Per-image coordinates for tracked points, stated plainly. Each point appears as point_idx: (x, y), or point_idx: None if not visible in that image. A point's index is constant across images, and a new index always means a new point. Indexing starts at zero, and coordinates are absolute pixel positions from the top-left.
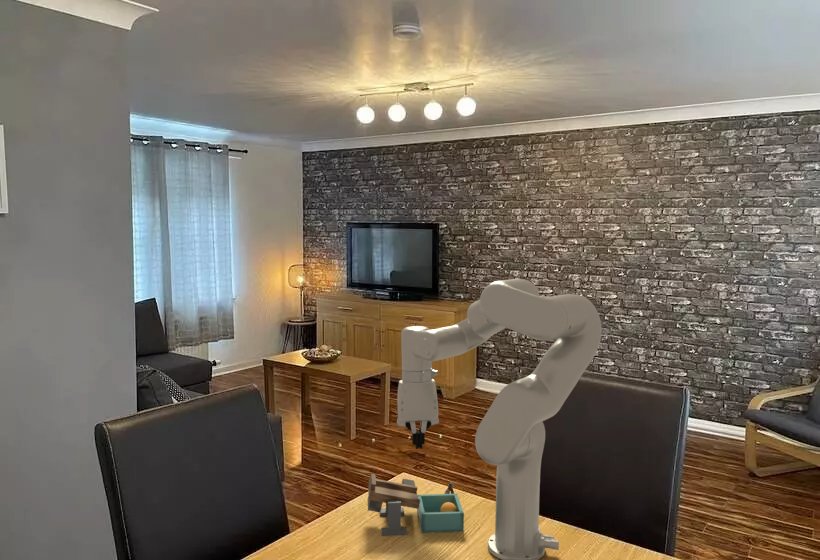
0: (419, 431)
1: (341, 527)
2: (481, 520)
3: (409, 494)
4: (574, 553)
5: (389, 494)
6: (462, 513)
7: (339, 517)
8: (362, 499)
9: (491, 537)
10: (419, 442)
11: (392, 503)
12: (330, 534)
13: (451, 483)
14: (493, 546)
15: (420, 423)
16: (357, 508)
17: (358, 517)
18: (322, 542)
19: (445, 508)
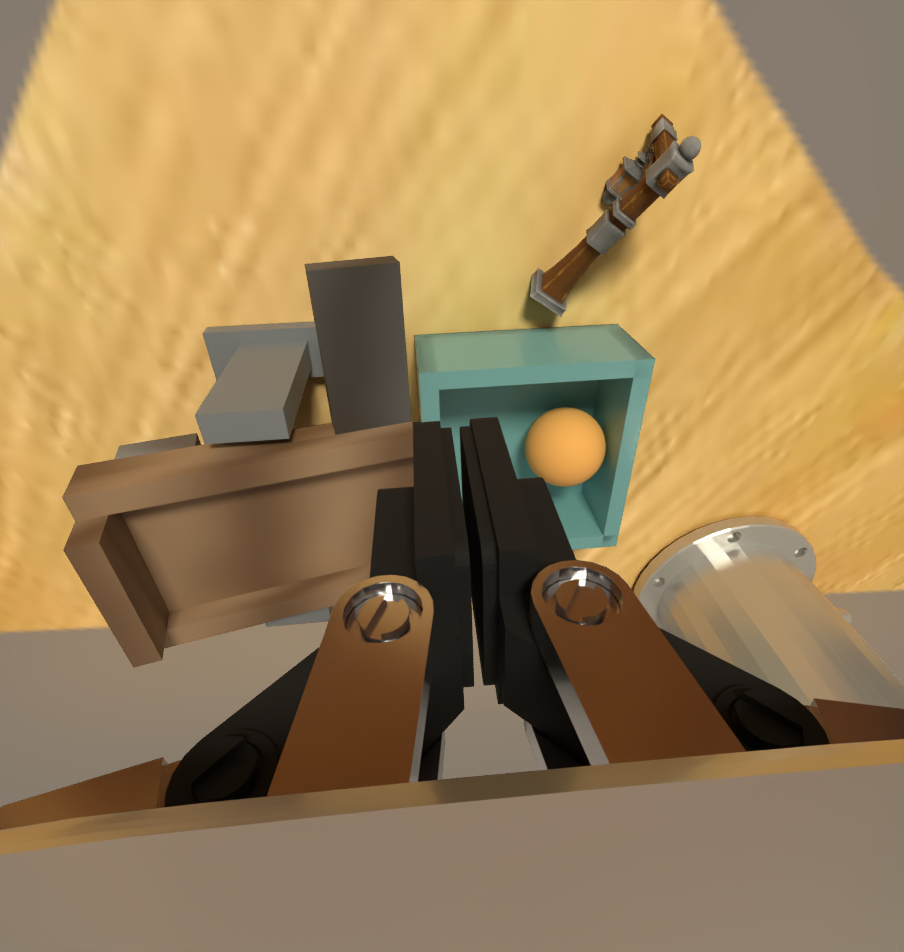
0: (500, 658)
1: (67, 478)
2: (694, 413)
3: (370, 494)
4: (864, 591)
5: (261, 617)
6: (609, 546)
7: (5, 390)
8: (34, 144)
9: (666, 566)
10: (471, 592)
11: (289, 623)
12: (46, 528)
13: (681, 167)
14: (649, 609)
15: (568, 692)
16: (59, 286)
17: (110, 390)
18: (44, 576)
19: (549, 483)
